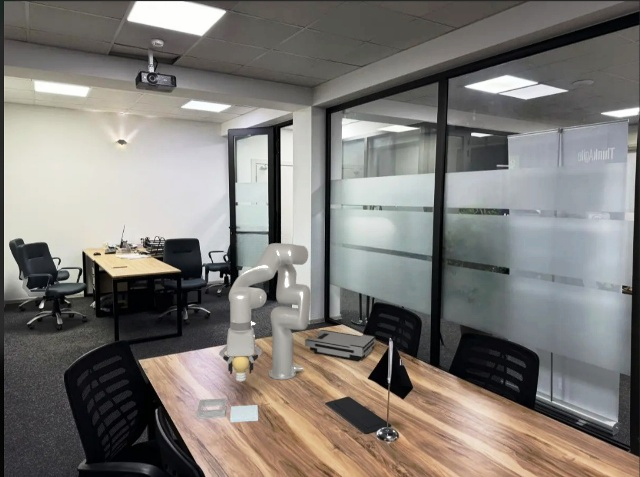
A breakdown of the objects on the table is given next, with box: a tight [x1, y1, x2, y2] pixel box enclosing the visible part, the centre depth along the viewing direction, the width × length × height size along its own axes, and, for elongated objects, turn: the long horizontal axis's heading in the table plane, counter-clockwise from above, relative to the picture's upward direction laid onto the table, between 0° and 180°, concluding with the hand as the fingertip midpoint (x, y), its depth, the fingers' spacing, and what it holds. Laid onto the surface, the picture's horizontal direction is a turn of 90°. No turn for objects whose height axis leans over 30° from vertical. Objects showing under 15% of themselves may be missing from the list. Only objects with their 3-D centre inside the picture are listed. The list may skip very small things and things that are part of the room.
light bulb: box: [232, 356, 250, 383], centre depth 158 cm, size 6×6×10 cm
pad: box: [229, 404, 259, 423], centre depth 159 cm, size 10×10×1 cm
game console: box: [304, 329, 376, 362], centre depth 227 cm, size 21×32×8 cm, turn 65°
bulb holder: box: [196, 397, 227, 420], centre depth 161 cm, size 10×10×2 cm
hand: (240, 372), depth 158 cm, fingers closed on light bulb, 6 cm apart
